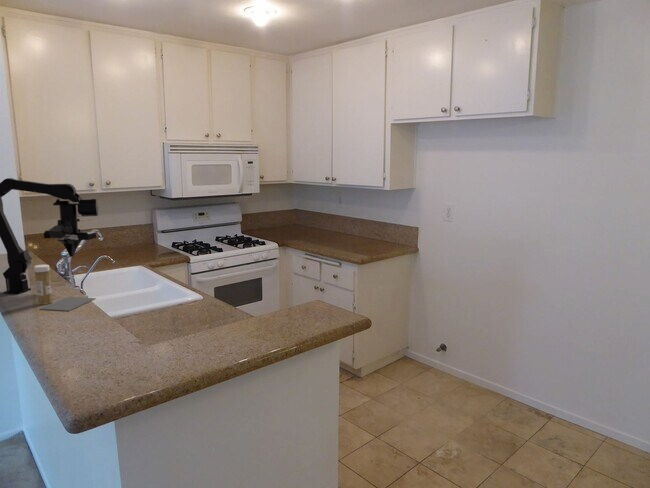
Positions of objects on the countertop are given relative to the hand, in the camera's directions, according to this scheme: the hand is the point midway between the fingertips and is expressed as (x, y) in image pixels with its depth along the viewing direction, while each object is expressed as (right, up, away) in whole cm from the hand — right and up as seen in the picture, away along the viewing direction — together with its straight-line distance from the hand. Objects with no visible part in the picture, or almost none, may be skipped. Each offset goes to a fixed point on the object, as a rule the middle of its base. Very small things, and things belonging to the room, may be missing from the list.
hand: (71, 256), depth 181 cm
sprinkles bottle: (+1, -16, -18) cm, 24 cm away
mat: (+10, -16, -20) cm, 27 cm away
